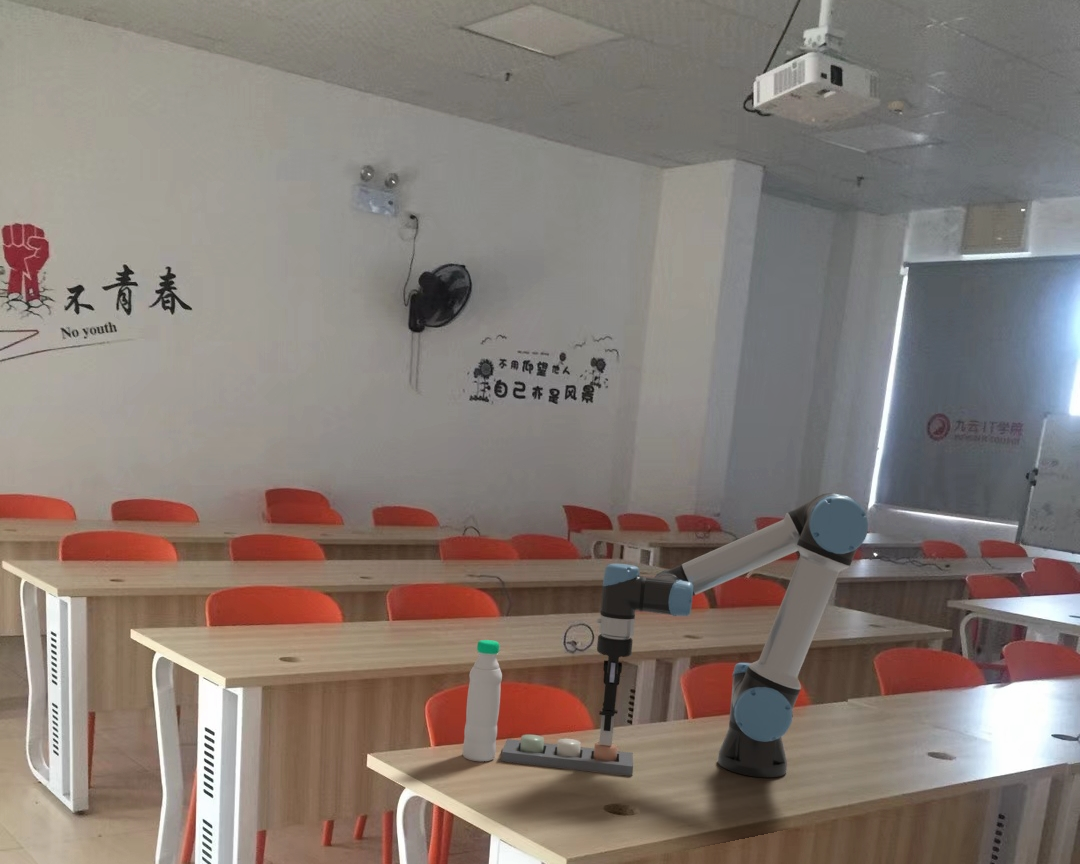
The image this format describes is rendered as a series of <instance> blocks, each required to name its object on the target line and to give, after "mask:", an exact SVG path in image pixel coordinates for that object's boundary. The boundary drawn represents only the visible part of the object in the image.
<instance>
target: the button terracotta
mask: <svg viewBox="0 0 1080 864" xmlns="http://www.w3.org/2000/svg"><path fill="white" fill-rule="evenodd" d="M593 746H594V747H593V748H594V757H593V759H596V760H605V761H614V762H616V760H617V751H618V750H619V749H618V745H617V744H615V743H613V742H612V746H607V745H599V742H595V743H594V745H593Z"/></svg>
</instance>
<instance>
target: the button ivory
mask: <svg viewBox="0 0 1080 864" xmlns="http://www.w3.org/2000/svg"><path fill="white" fill-rule="evenodd" d="M557 744H558V745H557V755H559V756H568V757H578V758H580V747H582V746H581V744H582V742H581V741H580V740H577V739H572V738H559V739H558V740H557Z"/></svg>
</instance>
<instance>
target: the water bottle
mask: <svg viewBox="0 0 1080 864" xmlns="http://www.w3.org/2000/svg"><path fill="white" fill-rule="evenodd" d="M476 651H477V654H478V657H477V659H476V660H475V662H474V664H473V666H472V668H471V670H470V671H469V675H468V676H469V683H468V684H469V685H468V690H467V698H466V699H467V700H466V710H465V711H466V713H465V714H466V716H465V719H466V721H465V725H464V732H463V733H464V735H463V736H464V740H463V745H462V756H463V757H464V758H465V759H467V760H469V761H472V762H484V761H485V762H490V761H492V760H493V759H495V756H496V752H497V751H496V750H497V743H496V740H497V738H498V721H499V714H500V706H501V686H502V685H501V682H502V679H503V673H502V670H501V668H500V664H499V661H498V659H497V657H498V655H499V652H500V643H499V642H498V641H496V640H491V639H482V640H481V639H480V640H478V642H477V646H476ZM485 762H484V763H485Z"/></svg>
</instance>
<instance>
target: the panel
mask: <svg viewBox="0 0 1080 864" xmlns="http://www.w3.org/2000/svg"><path fill="white" fill-rule="evenodd" d="M557 745H558V743H548V742H544V747H543V754H541V753H532V752H523V751H520V746H521V739H511V738H506V740H505V742H504V746H503V748H502V752H501V757H500V761H501V762H503V761H505V762H504V763H512V762H513V763H514V764H521V765H532V766H540V767H541V766H542V767H548V768H550V767H551V768H558V769H559V768H560V769H566V770H576V771H584V772H585V771H586V772H594V773H595V772H596V773H604V774H610V775H620V776H622V775H623V776H627V777H630V776H631V777H632V776H633V772H634V770H633V769H634V757H633V756H634V755H633V752H629V751H621V750H617V760H616V762H614V761H605V760H596V759H593V757H594V747H583V746H580V758H578V757H568V756H559V755H557Z"/></svg>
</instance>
